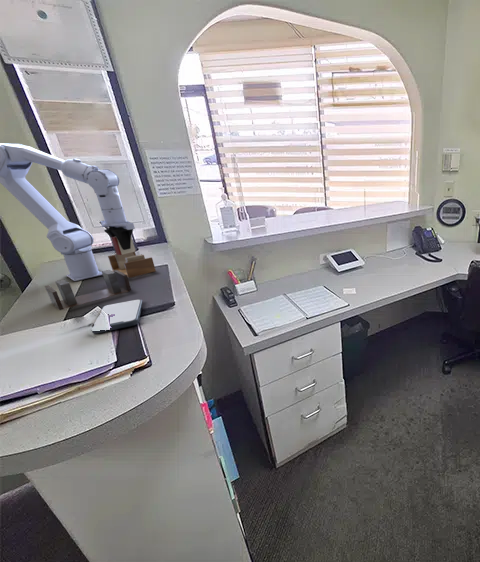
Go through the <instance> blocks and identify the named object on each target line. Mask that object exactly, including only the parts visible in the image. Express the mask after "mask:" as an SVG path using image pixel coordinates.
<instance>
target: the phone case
mask: <svg viewBox="0 0 480 562" xmlns="http://www.w3.org/2000/svg"><path fill="white" fill-rule="evenodd" d="M142 305H143V299H140V298H139V299H133V300H127V301H121V302H116V303H110V304H106V305H104V306H102V307H101V309H102V310H103V311H104V312H106V313H107V314H109V315H111V314H115V316H113V317H110V326H111V327H112V328H110V330H109V331H108V332H110V331H115V330H120V329H124V328H130V327H133V326H136V325H138V324H139V323H140V319H141V314H142V311H143V306H142ZM106 332H107V331H105V330H100V331H92V330H91V333H92V334H102V333H106Z"/></svg>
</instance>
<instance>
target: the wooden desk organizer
mask: <svg viewBox="0 0 480 562" xmlns="http://www.w3.org/2000/svg"><path fill="white" fill-rule="evenodd" d="M107 258H108V261H109V264H110V267H111V271H113V272H114V271H115V270H118V271H120V272H122V273H124V274H126V275H127V277H128V279H129V278H130V279H131V278H134V277H138V276H142V275H147V274H151V273H154V272H157V270H156V265H155V262H154V259H153V257H146V258H145V255H144V254H136V251H135V252H131V253H127V254H122V255H117V254H116V252H114V253H113V254H111V255H107Z"/></svg>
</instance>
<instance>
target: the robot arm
mask: <svg viewBox="0 0 480 562" xmlns="http://www.w3.org/2000/svg"><path fill="white" fill-rule="evenodd" d="M33 163H34V164H37V165H40V166H44V167H48V168H51V169H55V170H58V171H61V172H62V174H63V176H65V177H66V178H70V179H73V180H76V181H78V182H81V183H84V184H88V185H89V186H90V187H91V189H93V191H94V194H95V196H96V199H97V202H98V205H99V206H100V210H101V214H102V217H103V220H100V225H101V227H102V228H105V229H104V232H105V234H106V235H108V236H109V237H110V238H111V237H117V239H118V241H119V243H120V245H121V247H122V249H123V250H127V249H131V237H132V235H133V232H134V230H135V229H136V227H135V224H134V222H130V221H129V220H128V219H127V216H126V212H125V209H124V206H123V202H122V198H121V197H120V193H119V188H118V187H119V185H120V177H119V175H118V174H117V173H116V172H114V171H112V170H110V169H108V168H104V169H100V168H99V166H97V165H90V164H88V163H84V162H82V160H81V159H80V158H67V159H66V160H64V159H63V158H59V157H57V156H54V155H52V154H50V153H46V152H44V151H42V150H39V149H36V148H34V147H33V146H29V145H24V144H22V143H6V142H5V143H4V142H3V143H2V142H0V184H1V186H3V187H4V188H5V190H7V191H8V192H9V194H11V195H12V196H13V197H14V198H15V199H17V201H18V202H19V203H20V204H21V205H22V206H23V207H24V208H25V209H26V210H28V212H30V213H31V214H32V215H33V216H34V217H35V218H36V219H37V220H38V221H39V222H40V223H41V224H42V225H43V226H44V227H45V228H46V229H47V230H48V231H47V234H46V238H47V239H48V240H49V241H50V243H51V245H52V247H53V248H54V250H55V251H57V252H58V253H60V254H61V255H63V258H64V262H65V264H66V267H67V270H68V272H69V273H68V274H66V277H68V278H69V279H71V280H72V281H73V282H78V281H83V280H86V279H91V278H95V277H101V276H103V274H102V271H101V270H99V268H98V264H97V262H96V259H95V256H94V252H93V250H92V249H93V248H92V246H93V244H94V242H95V241H94V240H95V239H94V236H93V235H92V234H91V233H90V231H88V230H86V229H84V228H82V227H81V226H80V225H79V224H76V223H74V222H72V221H68V219H66V218H65V216H63V215H62V214H61V212H60V211H58V210H57V209H56V208H55V207H54V206H53V205H52V204H51V203H50V202H49V201H48V200H47V199H46V198H45V197H44V196H43V195H42V194H41V192H39V191H38V189H36V188H35V187H34V186H33V184H31V183H30V182H29V181H28V180H27V178H26V177H27V175H28V173H29V171H30V169H31V167H32V165H33ZM106 228H107V229H106Z"/></svg>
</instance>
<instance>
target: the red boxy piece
mask: <svg viewBox="0 0 480 562" xmlns="http://www.w3.org/2000/svg"><path fill="white" fill-rule="evenodd" d="M110 238H111V241H112V244H113V247H114V250H115V253H116V254H117V255H122V254H127V253H131V252H135V253H136V247H135V244H134V240H133V237H132V236H131V249H127V250H123V249H122V247H121V245H120V243H119V241H118V239H117V237H110Z"/></svg>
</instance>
